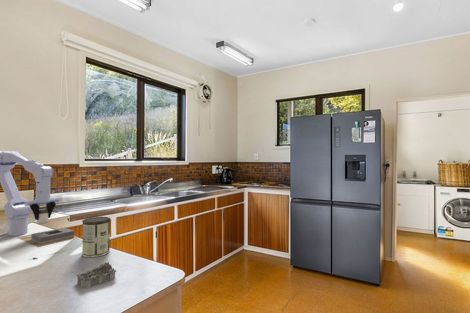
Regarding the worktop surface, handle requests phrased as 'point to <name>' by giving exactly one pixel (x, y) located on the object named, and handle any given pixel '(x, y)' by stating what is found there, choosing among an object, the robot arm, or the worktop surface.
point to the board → (28, 239)
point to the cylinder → (43, 216)
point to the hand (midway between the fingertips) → (42, 218)
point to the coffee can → (96, 236)
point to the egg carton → (96, 275)
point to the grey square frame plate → (52, 235)
